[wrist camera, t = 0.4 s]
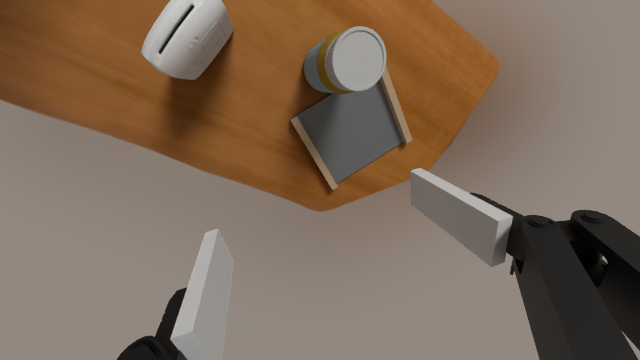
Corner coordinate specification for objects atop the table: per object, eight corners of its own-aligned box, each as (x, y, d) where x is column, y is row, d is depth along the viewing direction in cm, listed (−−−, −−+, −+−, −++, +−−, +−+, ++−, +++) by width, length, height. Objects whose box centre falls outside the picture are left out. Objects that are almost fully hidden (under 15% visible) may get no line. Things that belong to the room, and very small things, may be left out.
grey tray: (289, 119, 40) (291, 121, 38) (379, 64, 40) (384, 63, 38) (330, 186, 46) (332, 190, 45) (407, 138, 47) (412, 140, 45)
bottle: (300, 88, 39) (323, 90, 25) (305, 40, 36) (333, 13, 23) (340, 94, 40) (381, 99, 27) (347, 49, 38) (397, 29, 25)
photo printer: (212, 1, 32) (187, -44, 21) (239, 28, 34) (230, 0, 22) (167, 62, 33) (121, 51, 22) (195, 85, 35) (166, 85, 24)
